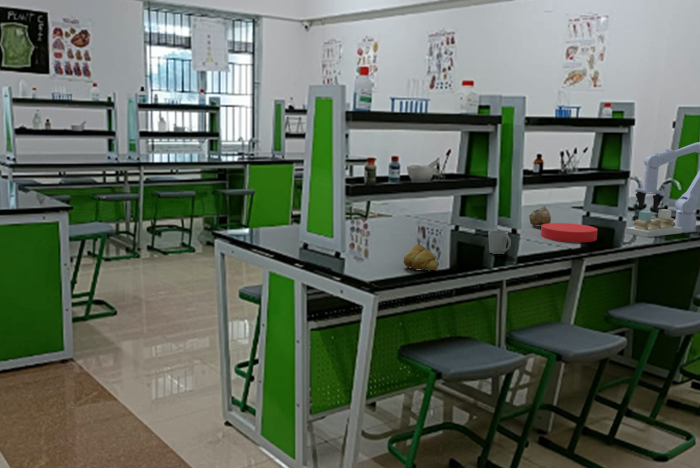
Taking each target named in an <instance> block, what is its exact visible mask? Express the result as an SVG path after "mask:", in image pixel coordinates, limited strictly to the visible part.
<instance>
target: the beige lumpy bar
mask: <svg viewBox="0 0 700 468" xmlns="http://www.w3.org/2000/svg"><path fill="white" fill-rule="evenodd" d="M674 225H675V218H672V217H671V219H661V218H658V217H654V218H651V221H641V220H638V219H635V221H634V227H635V229H640V230H648V227H650V228H655V229H660V228H661V226H664V227H673V226H674Z"/></svg>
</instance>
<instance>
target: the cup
mask: <svg viewBox="0 0 700 468" xmlns="http://www.w3.org/2000/svg"><path fill="white" fill-rule="evenodd" d="M507 242H508V243H507ZM511 243H512V240H511V237H510V236H509V232H508V231H505V230H504V231H503V230H489V231H488V246H489V247H488V250H489V254H490V253H494V254H503V255H505V253H506V252H508V251H509V250H510V249H511V246H512V244H511Z"/></svg>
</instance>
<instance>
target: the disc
mask: <svg viewBox="0 0 700 468" xmlns="http://www.w3.org/2000/svg"><path fill="white" fill-rule="evenodd" d="M540 226H541V225H540ZM540 229H541V230H540V236H541V238H544V239H548V240H550V239H551V241H558V242H564V243H565V242H566V243H592V242H595V241H597V239H598V228H597V227H595V226H591V225H587V224H586V225H585V224H581V223H580V224H578V223H572V222H571V223H568V222H567V223H566V222H550V223H548V224H543V225H542V226H541V228H540Z"/></svg>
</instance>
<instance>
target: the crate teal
mask: <svg viewBox="0 0 700 468" xmlns="http://www.w3.org/2000/svg"><path fill="white" fill-rule="evenodd" d="M652 217H653V211H645V210H643V211H642V210H641V211H638V218H637V220H641V221H651V218H652Z"/></svg>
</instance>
